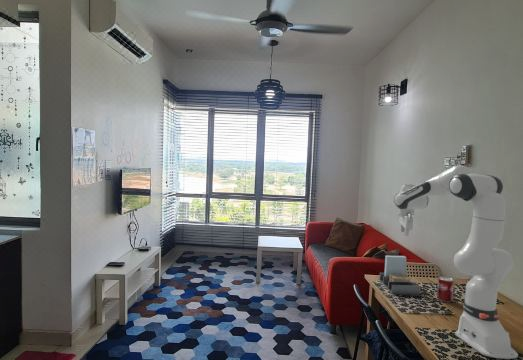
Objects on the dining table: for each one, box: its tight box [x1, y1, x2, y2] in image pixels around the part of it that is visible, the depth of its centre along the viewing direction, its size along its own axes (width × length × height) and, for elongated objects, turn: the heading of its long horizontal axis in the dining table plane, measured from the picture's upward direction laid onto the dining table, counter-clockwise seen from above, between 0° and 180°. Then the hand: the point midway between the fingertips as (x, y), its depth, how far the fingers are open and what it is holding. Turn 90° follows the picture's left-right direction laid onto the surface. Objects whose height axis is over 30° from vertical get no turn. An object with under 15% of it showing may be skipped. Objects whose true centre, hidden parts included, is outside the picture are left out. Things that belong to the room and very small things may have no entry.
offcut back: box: [389, 274, 409, 281], centre depth 186 cm, size 2×10×6 cm, turn 88°
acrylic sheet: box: [383, 254, 407, 276], centre depth 191 cm, size 2×12×16 cm, turn 88°
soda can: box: [436, 276, 455, 303], centre depth 169 cm, size 7×7×12 cm
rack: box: [378, 272, 421, 296], centre depth 186 cm, size 22×16×5 cm
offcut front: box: [392, 276, 411, 282], centre depth 182 cm, size 2×10×6 cm, turn 88°
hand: (404, 233), depth 185 cm, fingers open, 8 cm apart
